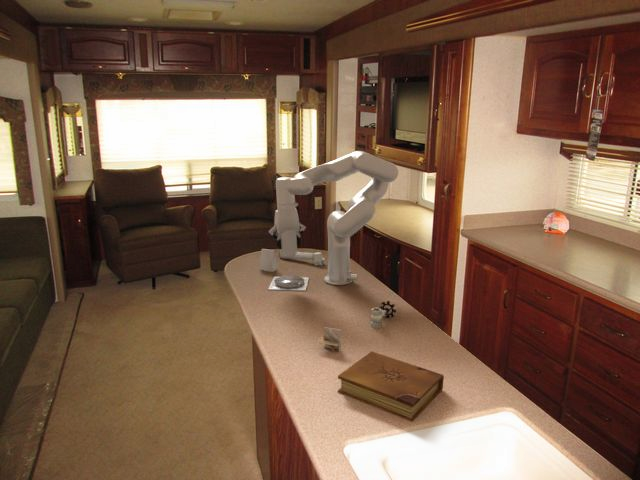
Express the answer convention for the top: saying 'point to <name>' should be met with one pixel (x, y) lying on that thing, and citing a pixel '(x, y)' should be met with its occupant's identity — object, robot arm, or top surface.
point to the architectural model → (331, 338)
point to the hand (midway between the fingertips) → (288, 246)
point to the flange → (289, 283)
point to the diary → (391, 385)
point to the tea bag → (267, 260)
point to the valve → (381, 314)
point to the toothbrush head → (307, 257)
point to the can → (288, 242)
